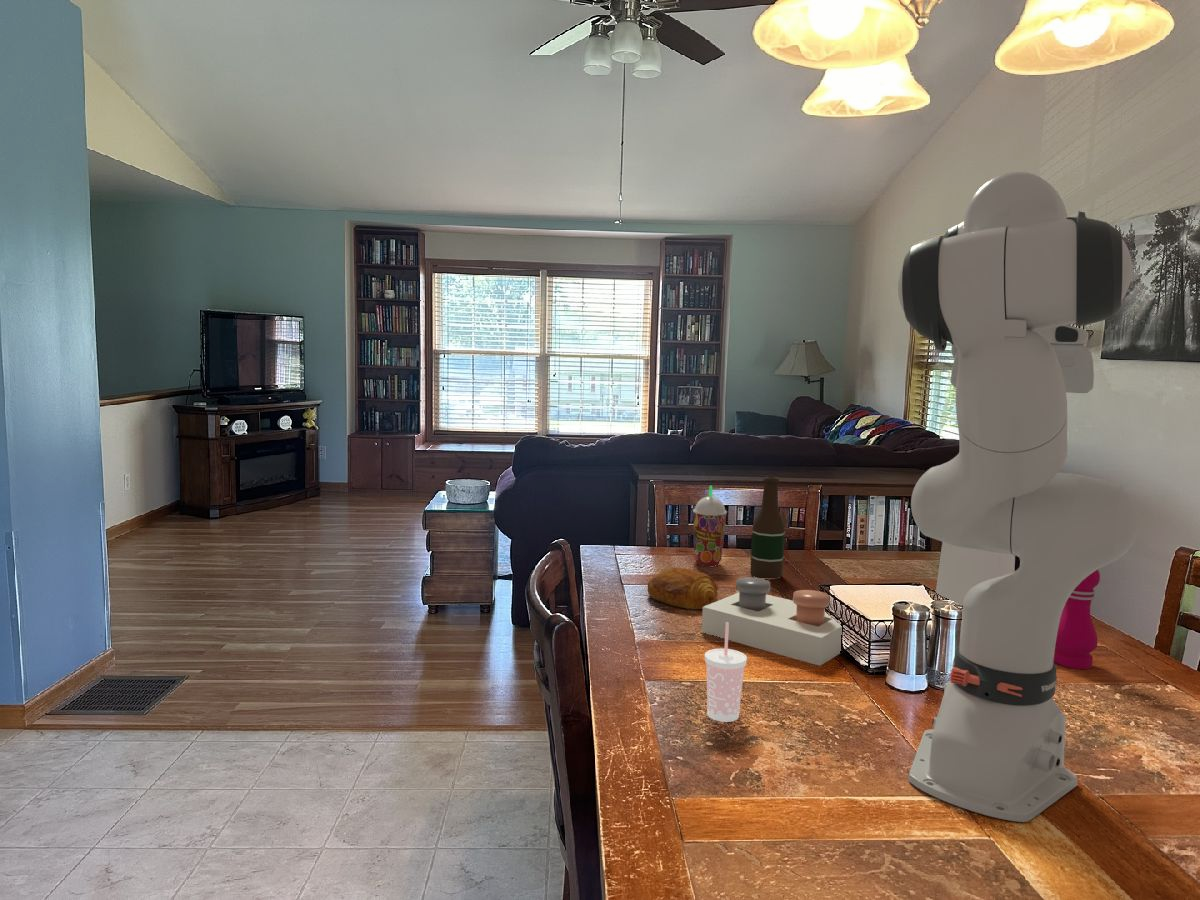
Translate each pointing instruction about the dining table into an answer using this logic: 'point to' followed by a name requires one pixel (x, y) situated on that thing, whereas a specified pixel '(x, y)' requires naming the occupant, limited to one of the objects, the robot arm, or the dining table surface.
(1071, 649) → the pepper mill
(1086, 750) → the dining table surface
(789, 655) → the button panel
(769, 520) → the beer bottle
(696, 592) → the croissant
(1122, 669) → the dining table surface
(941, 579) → the milk
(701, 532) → the smoothie
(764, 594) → the graphite button
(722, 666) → the beverage cup
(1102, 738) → the dining table surface
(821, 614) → the terracotta button
